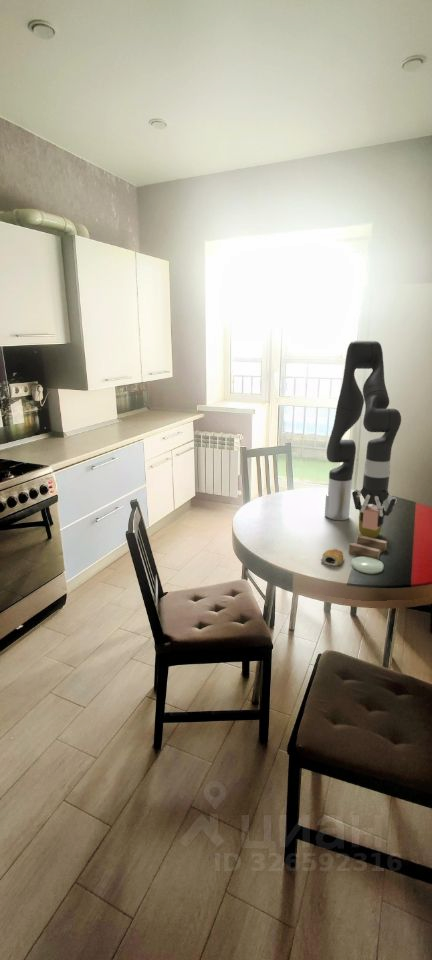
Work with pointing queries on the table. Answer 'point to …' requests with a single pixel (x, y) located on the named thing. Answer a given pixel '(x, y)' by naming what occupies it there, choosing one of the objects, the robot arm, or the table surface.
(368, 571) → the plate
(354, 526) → the table surface
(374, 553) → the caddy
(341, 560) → the pastry
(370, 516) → the part
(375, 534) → the flower pot
